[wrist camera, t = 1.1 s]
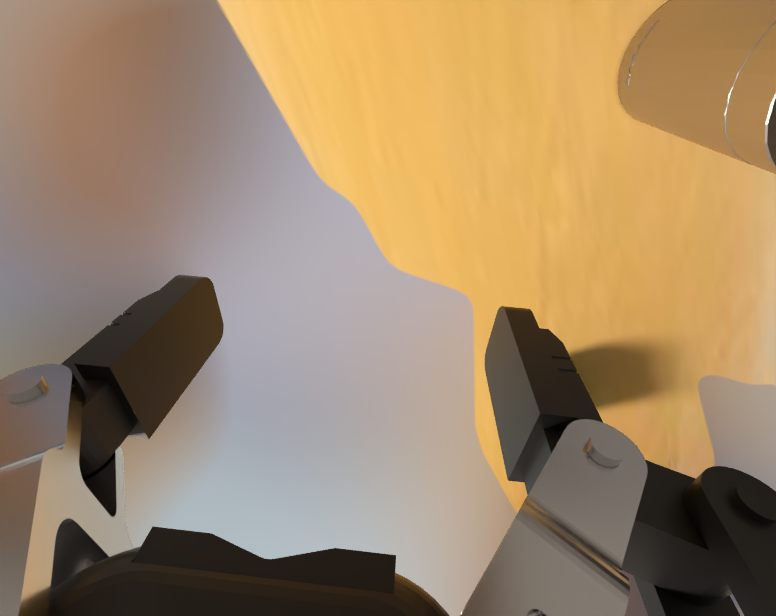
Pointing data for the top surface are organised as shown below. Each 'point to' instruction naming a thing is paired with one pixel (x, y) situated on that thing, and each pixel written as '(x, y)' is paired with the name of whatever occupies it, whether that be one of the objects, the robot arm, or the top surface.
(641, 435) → the top surface
